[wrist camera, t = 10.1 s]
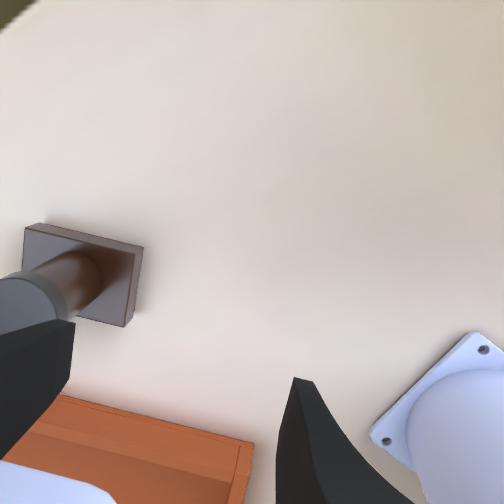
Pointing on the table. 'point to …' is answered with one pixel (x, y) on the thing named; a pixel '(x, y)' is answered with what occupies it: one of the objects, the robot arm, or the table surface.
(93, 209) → the table surface
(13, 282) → the stamp
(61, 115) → the table surface
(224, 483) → the tray
